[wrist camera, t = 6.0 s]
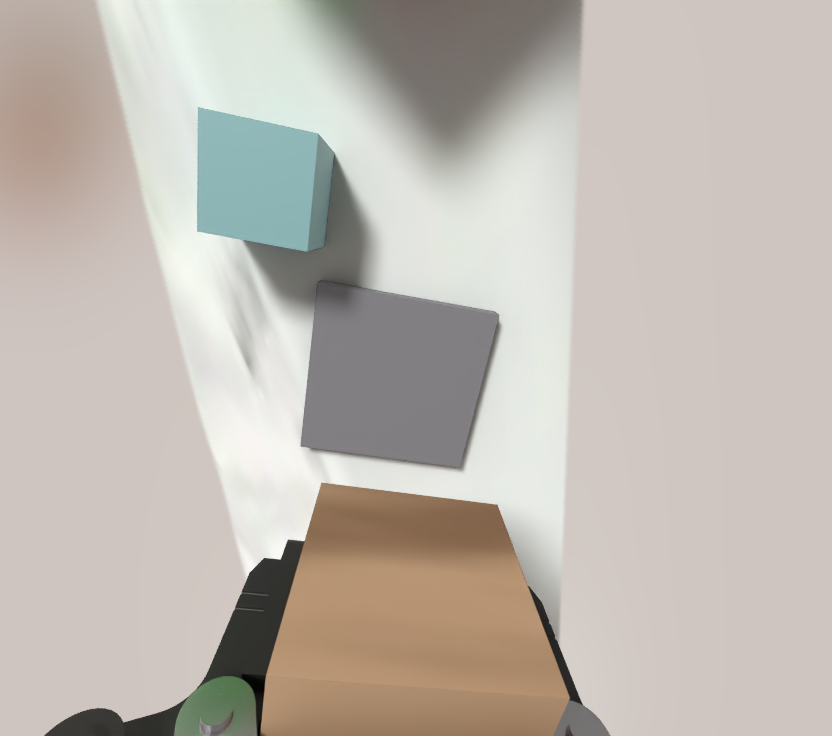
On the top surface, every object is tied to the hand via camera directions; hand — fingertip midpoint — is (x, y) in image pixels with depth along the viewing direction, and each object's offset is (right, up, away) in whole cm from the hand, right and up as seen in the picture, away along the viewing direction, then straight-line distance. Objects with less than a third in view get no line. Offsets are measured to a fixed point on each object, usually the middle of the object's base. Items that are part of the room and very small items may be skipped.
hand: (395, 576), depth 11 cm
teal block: (-7, +16, +11) cm, 21 cm away
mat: (-1, +5, +15) cm, 16 cm away
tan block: (0, 0, 0) cm, 0 cm away
